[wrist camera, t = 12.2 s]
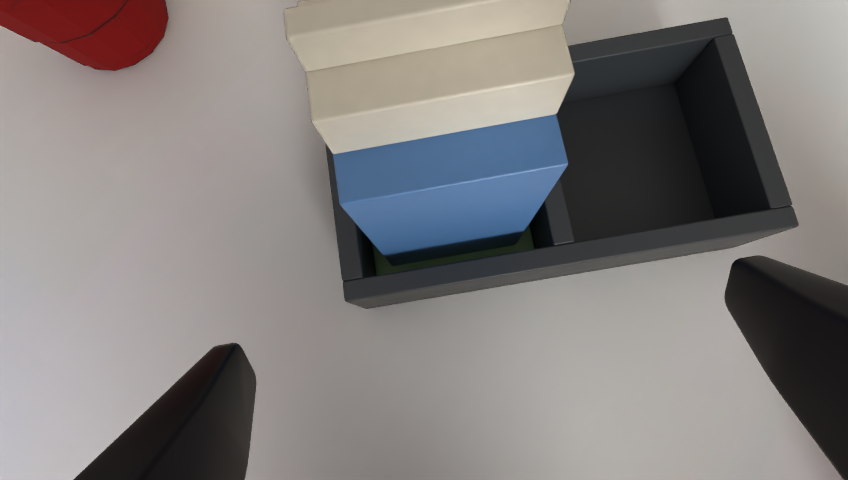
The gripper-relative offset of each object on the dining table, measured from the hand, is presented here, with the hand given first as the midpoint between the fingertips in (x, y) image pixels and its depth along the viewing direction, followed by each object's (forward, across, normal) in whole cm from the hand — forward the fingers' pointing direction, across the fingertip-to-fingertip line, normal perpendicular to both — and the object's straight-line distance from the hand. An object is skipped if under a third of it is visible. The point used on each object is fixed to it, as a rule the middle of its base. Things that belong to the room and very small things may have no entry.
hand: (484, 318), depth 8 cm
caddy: (+13, -4, +4) cm, 15 cm away
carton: (+13, 0, +4) cm, 13 cm away
